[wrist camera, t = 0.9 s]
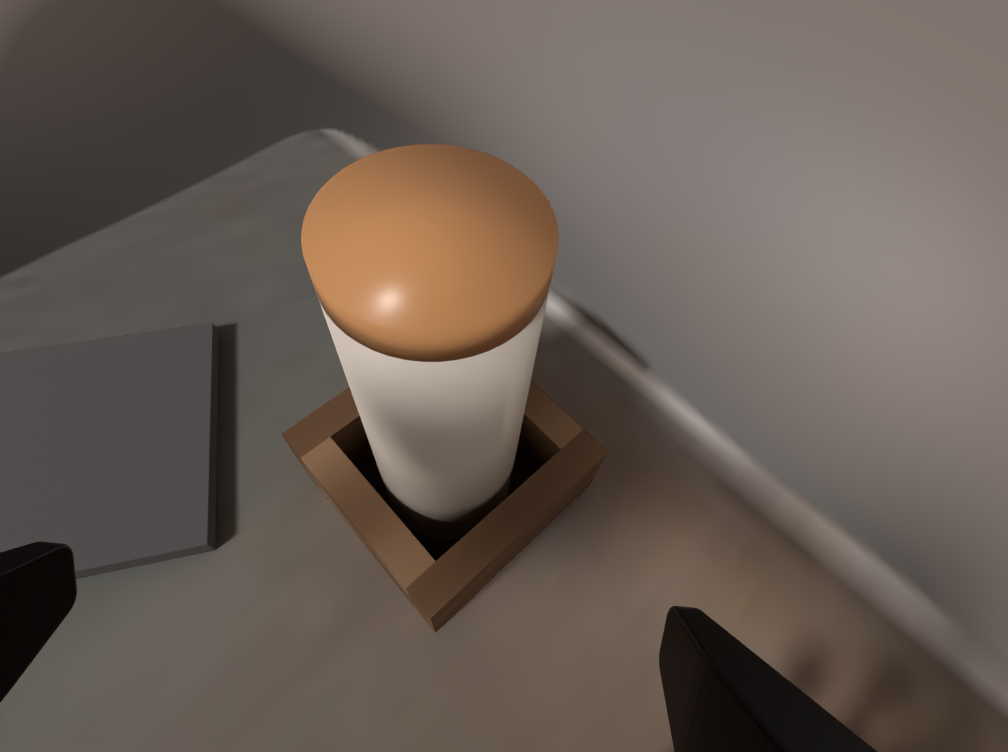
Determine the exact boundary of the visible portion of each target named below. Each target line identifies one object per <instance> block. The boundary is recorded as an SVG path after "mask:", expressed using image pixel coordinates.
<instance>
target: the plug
mask: <svg viewBox="0 0 1008 752" xmlns="http://www.w3.org/2000/svg"><path fill="white" fill-rule="evenodd" d="M301 245H302V251H303V256H304V259H305V262H306V265H307V268H308V271H309V273H310V276H311V279H312V282H313V285H314V288H315V290H316V293H317V296H318V299H319V302H320V305H321V307H322V310H323V313H324V316H325V319H326V322H327V324H328V327H329V330H330V333H331V336H332V339H333V341H334V344H335V347H336V350H337V353H338V356H339V358H340V361H341V364H342V367H343V370H344V373H345V375H346V378H347V381H348V384H349V387H350V390H351V392H352V395H353V398H354V401H355V404H356V407H357V409H358V412H359V415H360V418H361V421H362V424H363V426H364V429H365V432H366V435H367V438H368V441H369V443H370V446H371V449H372V452H373V455H374V458H375V460H376V463H377V466H378V469H379V472H380V475H381V477H382V480H383V483H384V486H385V489H386V492H387V494H388V497H389V500H390V503H391V505H392V507H393V509H394V511H395V513H396V514H397V515H398V517H399V518H400V519H401V520H402V521H403V522H404V523H405V524H406V525H407V526H408V527H410V528H411V529H412V530H414V531H416V532H418V533H420V534H422V535H424V536H427V537H431V538H435V539H457V538H462V537H464V536H465V535H466V534H467V533H468V532H469V531H470V530H471V529H472V528H474V527H475V526H476V525H477V524H478V523H479V522H480V521H481V520H483V519H484V518H485V517H486V516H487V515H488V514H489V513H490V512H491V511H493V510H494V509H495V508H496V507H497V506H498V505H499V504H500V503H502V502H503V501H504V500H505V499H506V498H507V494H508V490H509V485H510V480H511V475H512V470H513V466H514V461H515V456H516V451H517V446H518V441H519V436H520V431H521V426H522V421H523V416H524V411H525V406H526V402H527V397H528V392H529V387H530V382H531V377H532V372H533V367H534V362H535V357H536V352H537V347H538V343H539V338H540V333H541V328H542V323H543V318H544V313H545V308H546V303H547V298H548V293H549V288H550V284H551V279H552V274H553V269H554V264H555V259H556V254H557V249H558V227H557V222H556V218H555V215H554V212H553V210H552V208H551V206H550V203H549V201H548V200H547V198H546V197H545V195H544V194H543V193H542V191H541V190H540V189H539V188H538V187H537V185H536V184H535V183H534V182H533V181H532V180H531V179H529V178H528V177H527V176H526V175H525V174H523V173H522V172H521V171H519V170H518V169H516V168H515V167H513V166H512V165H510V164H508V163H506V162H504V161H503V160H500V159H499V158H496V157H494V156H491V155H489V154H486V153H483V152H480V151H476V150H473V149H469V148H464V147H459V146H450V145H440V144H439V145H437V144H422V145H410V146H403V147H397V148H392V149H389V150H384V151H381V152H378V153H375V154H372V155H369V156H367V157H365V158H362V159H360V160H358V161H356V162H354V163H352V164H351V165H349V166H347V167H345V168H344V169H342V170H341V171H340V172H338V173H337V174H336V175H334V176H333V177H332V178H331V179H330V180H329V181H328V182H327V183H326V184H325V185H324V186H323V187H322V188H321V189H320V190H319V192H318V193H317V194H316V195H315V197H314V199H313V200H312V202H311V204H310V205H309V207H308V210H307V212H306V215H305V217H304V221H303V226H302V232H301Z"/></svg>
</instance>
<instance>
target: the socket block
mask: <svg viewBox="0 0 1008 752" xmlns="http://www.w3.org/2000/svg"><path fill="white" fill-rule="evenodd" d="M282 436H283V437H284V439H285V440H286V442H287V443H288V445H289V447H290V448H291V450H292V451H293V453H294V454H295V456H296V457H297V459H298V460H299V462H300V463H301V465H302V466H303V468H304V469H305V471H306V472H307V473H308V474H309V476H310V477H311V478H312V479H313V481H314V482H315V483H316V484H317V486H318V487H319V488H320V489H321V491H322V492H323V493H324V494H325V496H326V497H327V498H328V499H329V501H330V502H331V503H332V504H333V506H334V507H335V508H336V509H337V511H338V512H339V513H340V514H341V516H342V517H343V518H344V519H345V520H346V522H347V523H348V524H349V525H350V527H351V528H352V529H353V530H354V532H355V533H356V534H357V535H358V537H359V538H360V539H361V540H362V542H363V543H364V544H365V545H366V547H367V548H368V549H369V550H370V552H371V553H372V554H373V555H374V557H375V558H376V559H377V560H378V562H379V563H380V564H381V565H382V567H383V568H384V569H385V570H386V572H387V573H388V574H389V575H390V577H391V578H392V579H393V580H394V581H395V583H396V584H397V585H398V586H399V588H400V589H401V590H402V591H403V593H404V594H405V595H406V596H407V598H408V599H409V600H410V601H411V603H412V604H413V605H414V606H415V608H416V609H417V610H418V611H419V613H420V614H421V615H422V616H423V618H424V619H425V620H426V621H427V623H428V624H429V625H430V626H431V628H432V629H433V630H434V631H435V632H436V631H437V630H438V629H439V628H440V627H442V626H443V625H444V624H445V623H446V622H447V621H448V620H449V619H450V618H451V617H452V616H453V615H454V614H455V613H456V612H457V611H458V610H459V609H460V608H461V607H462V606H463V605H465V604H466V603H467V602H468V601H469V600H470V599H471V598H472V597H473V596H474V595H475V594H476V593H477V592H478V591H479V590H480V589H481V588H482V587H483V586H484V585H485V584H486V583H487V582H489V581H490V580H491V579H492V578H493V577H494V576H495V575H496V574H497V573H498V572H499V571H500V570H501V569H502V568H503V567H504V566H505V565H506V564H507V563H508V562H509V561H510V560H511V559H513V558H514V557H515V556H516V555H517V554H518V553H519V552H520V551H521V550H522V549H523V548H524V547H525V546H526V545H527V544H528V543H529V542H530V541H531V540H532V539H533V538H534V537H536V536H537V535H538V534H539V533H540V532H541V531H542V530H543V529H544V528H545V527H546V526H547V525H548V524H549V523H550V522H551V521H552V520H553V519H554V518H555V517H556V516H557V515H558V514H560V513H561V512H562V511H563V510H564V509H565V508H566V507H567V506H568V505H569V504H570V503H571V502H572V501H573V500H574V499H575V498H576V497H577V496H578V495H579V494H580V493H581V492H583V491H584V490H585V489H586V488H587V487H588V486H589V485H590V483H591V481H592V479H593V478H594V476H595V474H596V472H597V470H598V469H599V467H600V465H601V463H602V461H603V460H604V458H605V456H606V454H607V452H608V451H607V450H605V449H604V448H603V447H602V446H601V445H600V444H599V443H598V442H597V441H596V440H595V439H594V438H593V437H592V436H590V435H589V434H588V433H587V432H586V431H585V430H584V429H583V428H582V427H581V426H580V425H579V424H578V423H576V422H575V421H574V420H573V419H572V418H571V417H570V416H569V415H568V414H567V413H566V412H565V411H564V410H563V409H561V408H560V407H559V406H558V405H557V404H556V403H555V402H554V401H553V400H552V399H551V398H550V397H549V396H548V395H546V394H545V393H544V392H543V391H542V390H541V389H540V388H539V387H538V386H537V385H536V384H535V383H534V382H533V381H531V382H530V387H529V392H528V397H527V402H526V406H525V411H524V416H523V421H522V426H521V431H520V436H519V441H518V446H517V452H518V453H519V454H520V455H521V456H522V457H523V458H524V459H525V460H526V461H527V462H528V463H529V464H530V465H531V466H532V467H533V468H534V469H535V470H536V472H535V473H534V474H533V475H532V476H531V477H529V478H528V479H527V480H526V481H525V482H524V483H523V484H522V485H520V486H519V487H518V488H517V489H516V490H515V491H514V492H513V493H512V494H510V495H509V496H508V497H507V498H506V499H505V500H504V501H503V502H502V503H500V504H499V505H498V506H497V507H496V508H495V509H494V510H493V511H491V512H490V513H489V514H488V515H487V516H486V517H485V518H484V519H483V520H481V521H480V522H479V523H478V524H477V525H476V526H475V527H474V528H472V529H471V530H470V531H469V532H468V533H467V534H466V535H465V536H464V537H462V538H461V539H460V540H459V541H458V542H457V543H456V544H455V545H453V546H452V547H451V548H450V549H449V550H448V551H447V552H446V553H445V554H443V555H442V556H441V557H440V558H439V559H438V560H437V561H435V560H434V559H433V558H432V556H431V555H430V554H429V553H428V552H427V551H426V549H425V548H424V547H423V546H422V545H421V544H420V542H419V541H418V540H417V539H416V538H415V536H414V535H413V534H412V533H411V532H410V531H409V529H408V528H407V527H406V526H405V525H404V523H403V522H402V521H401V520H400V519H399V518H398V516H397V515H396V514H395V513H394V512H393V510H392V509H391V508H390V507H389V506H388V505H387V503H386V502H385V501H384V500H383V499H382V498H381V496H380V495H379V494H378V493H377V492H376V490H375V489H374V488H373V487H372V486H371V485H370V483H369V482H368V481H367V480H366V479H365V477H364V476H363V475H362V474H361V473H360V472H359V470H358V469H357V468H356V467H355V466H357V465H358V464H359V463H361V462H362V461H363V460H365V459H366V458H367V457H369V456H370V455H371V454H372V453H373V452H372V449H371V446H370V443H369V441H368V438H367V435H366V432H365V429H364V426H363V424H362V421H361V418H360V415H359V412H358V409H357V407H356V404H355V401H354V398H353V395H352V392H351V390H350V387H349V388H348V389H346V390H345V391H343V392H342V393H340V394H339V395H337V396H336V397H335V398H333V399H332V400H330V401H329V402H327V403H326V404H324V405H323V406H321V407H320V408H319V409H317V410H316V411H314V412H313V413H311V414H310V415H308V416H307V417H306V418H304V419H303V420H301V421H300V422H298V423H297V424H295V425H294V426H292V427H291V428H290V429H288V430H287V431H285V432H284V433H282Z"/></svg>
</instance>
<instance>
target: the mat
mask: <svg viewBox="0 0 1008 752" xmlns="http://www.w3.org/2000/svg"><path fill="white" fill-rule="evenodd" d="M218 370H219V332H218V331H217V329H216V328H215V326H214V325H213V323H209V324H202V325H195V326H188V327H181V328H174V329H167V330H160V331H153V332H146V333H139V334H132V335H125V336H118V337H111V338H104V339H97V340H90V341H82V342H75V343H68V344H61V345H54V346H47V347H40V348H33V349H26V350H19V351H12V352H5V353H0V552H4V551H7V550H10V549H14V548H17V547H20V546H24V545H27V544H30V543H34V542H40V541H44V542H53V543H63V544H67V545H68V546H70V548H71V549H72V551H73V556H74V566H75V577H76V579H77V578H82V577H87V576H91V575H96V574H101V573H106V572H111V571H116V570H121V569H125V568H130V567H135V566H140V565H145V564H150V563H155V562H159V561H164V560H169V559H174V558H179V557H184V556H189V555H193V554H198V553H203V552H208V551H213V550H215V545H216V486H217V428H218Z"/></svg>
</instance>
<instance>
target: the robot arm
mask: <svg viewBox="0 0 1008 752" xmlns="http://www.w3.org/2000/svg"><path fill="white" fill-rule="evenodd" d="M76 595H77V587H76V577H75V566H74V556H73V551H72V549H71V548H70V546H68V545H67V544H63V543H53V542H44V541H40V542H34V543H30V544H27V545H24V546H20V547H17V548H14V549H10V550H7V551H4V552H0V702H1V701H2V700H3V699H4V697H5V696H6V695H7V694H8V692H9V691H10V690H11V688H12V687H13V686H14V685H15V683H16V682H17V681H18V679H19V678H20V677H21V675H22V674H23V673H24V671H25V670H26V669H27V667H28V666H29V665H30V663H31V662H32V661H33V659H34V658H35V657H36V655H37V654H38V653H39V651H40V650H41V649H42V647H43V646H44V645H45V643H46V642H47V641H48V640H49V638H50V637H51V636H52V634H53V633H54V632H55V630H56V629H57V628H58V626H59V625H60V624H61V622H62V621H63V620H64V618H65V617H66V616H67V614H68V613H69V612H70V610H71V609H72V607H73V605H74V602H75V599H76ZM659 666H660V673H661V679H662V684H663V690H664V696H665V701H666V707H667V713H668V718H669V724H670V729H671V735H672V741H673V746H674V752H877V751H876V750H875V749H873V748H872V747H871V746H870V745H868V744H867V743H866V742H865V741H863V740H862V739H861V738H860V737H858V736H857V735H856V734H855V733H853V732H852V731H851V730H850V729H848V728H847V727H846V726H845V725H843V724H842V723H841V722H840V721H838V720H837V719H836V718H835V717H833V716H832V715H831V714H830V713H828V712H827V711H826V710H825V709H823V708H822V707H821V706H820V705H818V704H817V703H816V702H815V701H813V700H812V699H811V698H810V697H808V696H807V695H806V694H805V693H803V692H802V691H801V690H800V689H798V688H797V687H796V686H795V685H793V684H792V683H791V682H790V681H788V680H787V679H786V678H785V677H783V676H782V675H781V674H780V673H778V672H777V671H776V670H775V669H773V668H772V667H771V666H770V665H769V664H767V663H766V662H765V661H764V660H762V659H761V658H760V657H759V656H757V655H756V654H755V653H754V652H752V651H751V650H750V649H749V648H747V647H746V646H745V645H744V644H742V643H741V642H740V641H739V640H737V639H736V638H735V637H734V636H732V635H731V634H730V633H729V632H727V631H726V630H725V629H724V628H722V627H721V626H720V625H719V624H717V623H716V622H715V621H714V620H712V619H711V618H710V617H709V616H707V615H706V614H705V613H704V612H702V611H701V610H700V609H697V608H692V607H681V606H673V607H671V608H670V609H669V611H668V614H667V618H666V623H665V628H664V633H663V638H662V643H661V647H660V654H659Z"/></svg>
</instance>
